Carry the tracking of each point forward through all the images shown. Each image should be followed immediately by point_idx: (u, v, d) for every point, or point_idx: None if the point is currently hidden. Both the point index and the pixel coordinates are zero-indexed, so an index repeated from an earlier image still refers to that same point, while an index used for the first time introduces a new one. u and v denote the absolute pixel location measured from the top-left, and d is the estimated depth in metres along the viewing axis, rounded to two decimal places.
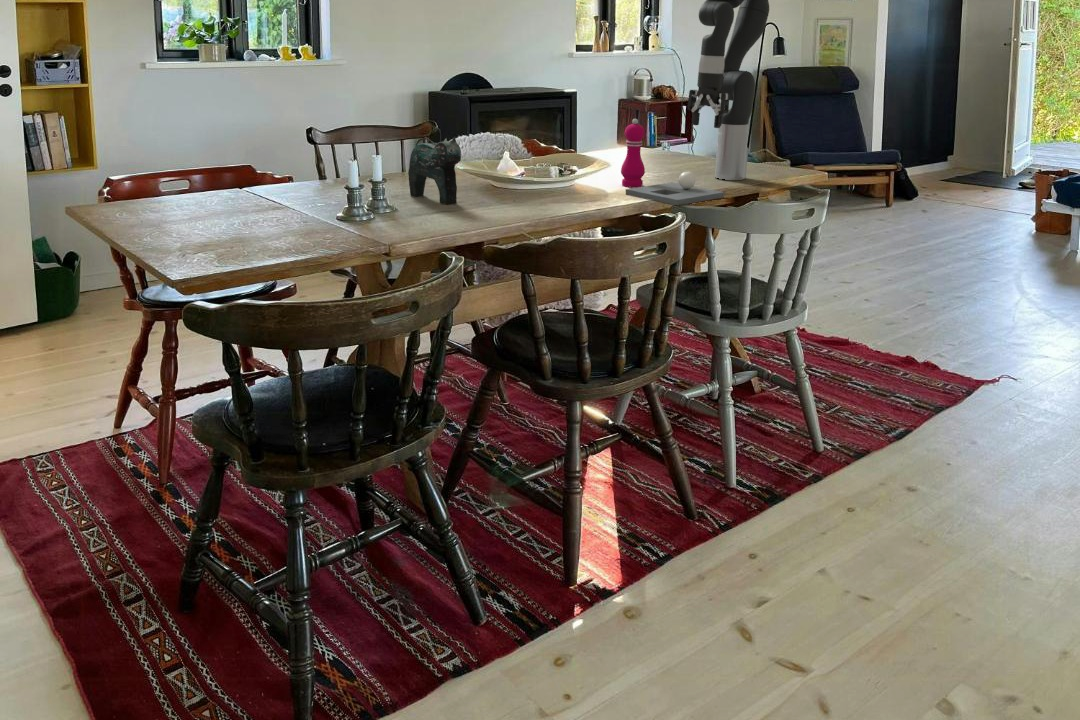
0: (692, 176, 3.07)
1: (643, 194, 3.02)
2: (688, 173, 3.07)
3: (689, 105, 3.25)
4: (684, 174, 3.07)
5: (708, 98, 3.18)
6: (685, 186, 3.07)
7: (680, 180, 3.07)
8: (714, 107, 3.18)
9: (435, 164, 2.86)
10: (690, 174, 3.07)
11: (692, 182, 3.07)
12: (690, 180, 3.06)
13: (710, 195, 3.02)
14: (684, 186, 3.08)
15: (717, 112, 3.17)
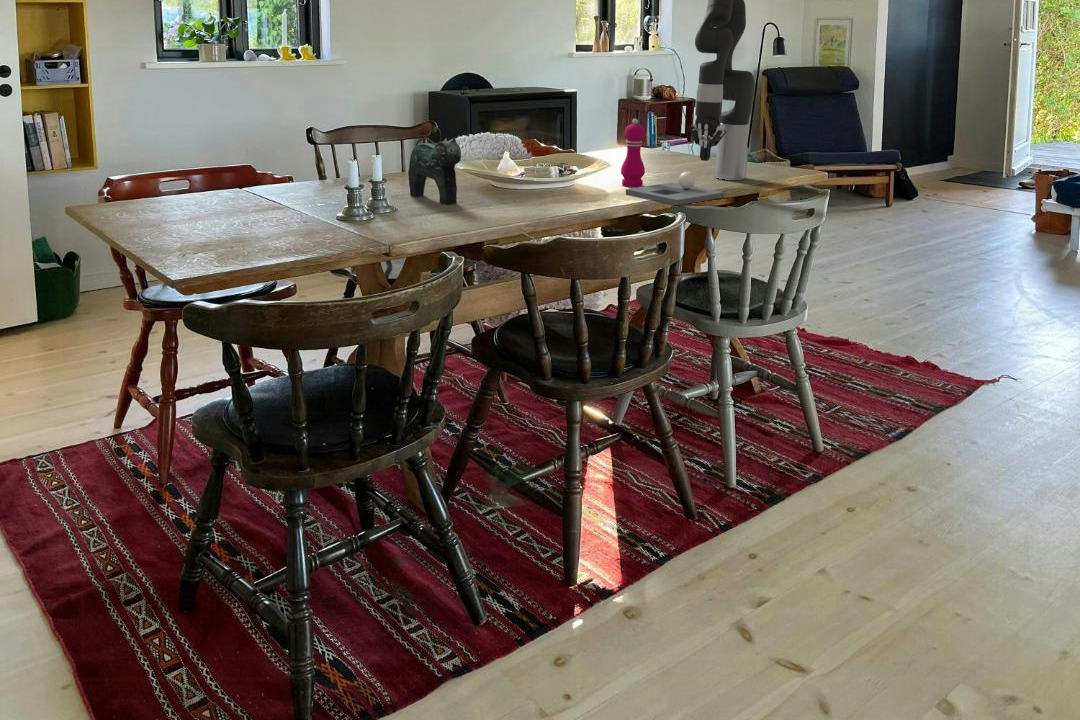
0: (692, 176, 3.07)
1: (643, 194, 3.02)
2: (688, 173, 3.07)
3: (695, 139, 3.11)
4: (684, 174, 3.07)
5: (705, 128, 3.07)
6: (685, 186, 3.07)
7: (680, 180, 3.07)
8: (706, 139, 3.08)
9: (435, 164, 2.86)
10: (690, 174, 3.07)
11: (692, 182, 3.07)
12: (690, 180, 3.06)
13: (710, 195, 3.02)
14: (684, 186, 3.08)
15: (705, 145, 3.09)
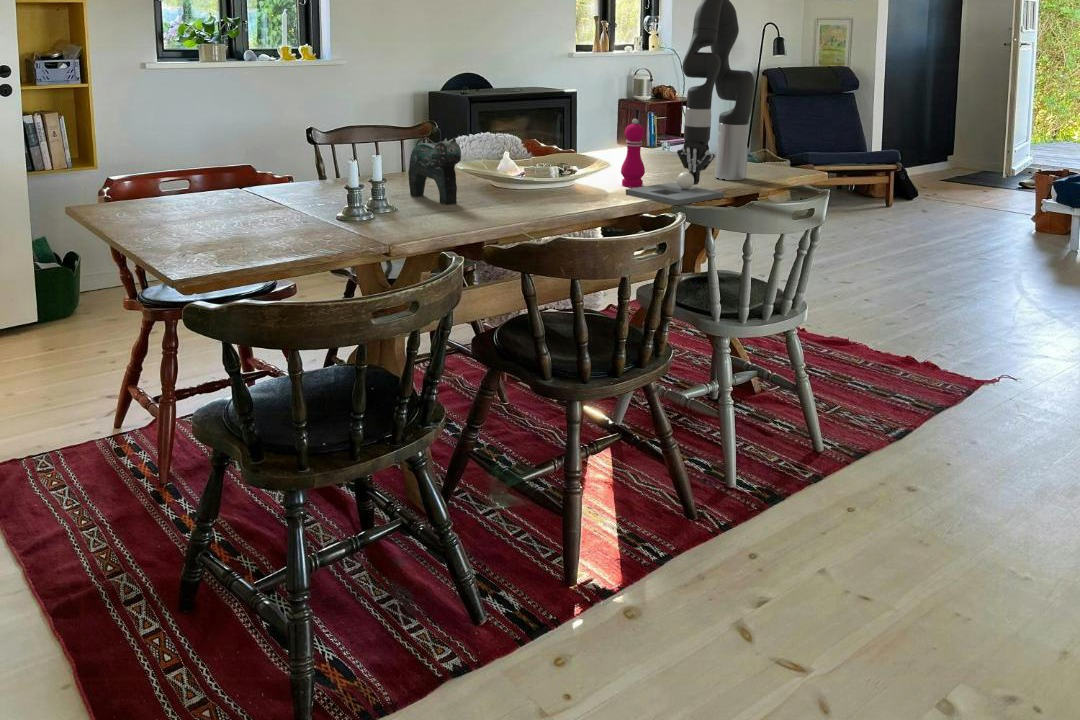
0: (690, 176, 3.06)
1: (643, 194, 3.02)
2: (685, 174, 3.06)
3: (684, 163, 3.10)
4: (682, 176, 3.07)
5: (694, 152, 3.06)
6: (685, 187, 3.07)
7: (679, 182, 3.07)
8: (694, 163, 3.07)
9: (435, 164, 2.86)
10: (688, 175, 3.06)
11: (691, 182, 3.07)
12: (688, 181, 3.06)
13: (710, 195, 3.02)
14: (683, 187, 3.08)
15: (694, 169, 3.08)
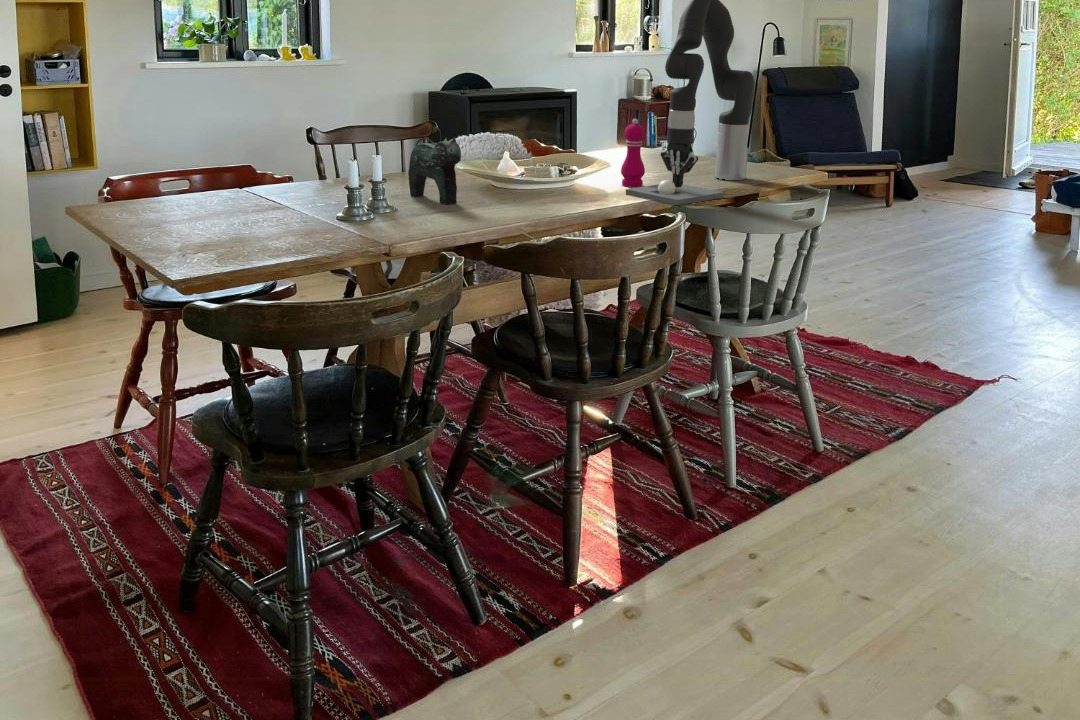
0: None
1: (643, 194, 3.02)
2: None
3: (668, 166, 3.06)
4: None
5: (677, 154, 3.02)
6: None
7: None
8: (678, 166, 3.03)
9: (435, 164, 2.86)
10: None
11: (673, 189, 3.02)
12: (674, 190, 3.03)
13: (710, 195, 3.02)
14: None
15: (678, 172, 3.04)
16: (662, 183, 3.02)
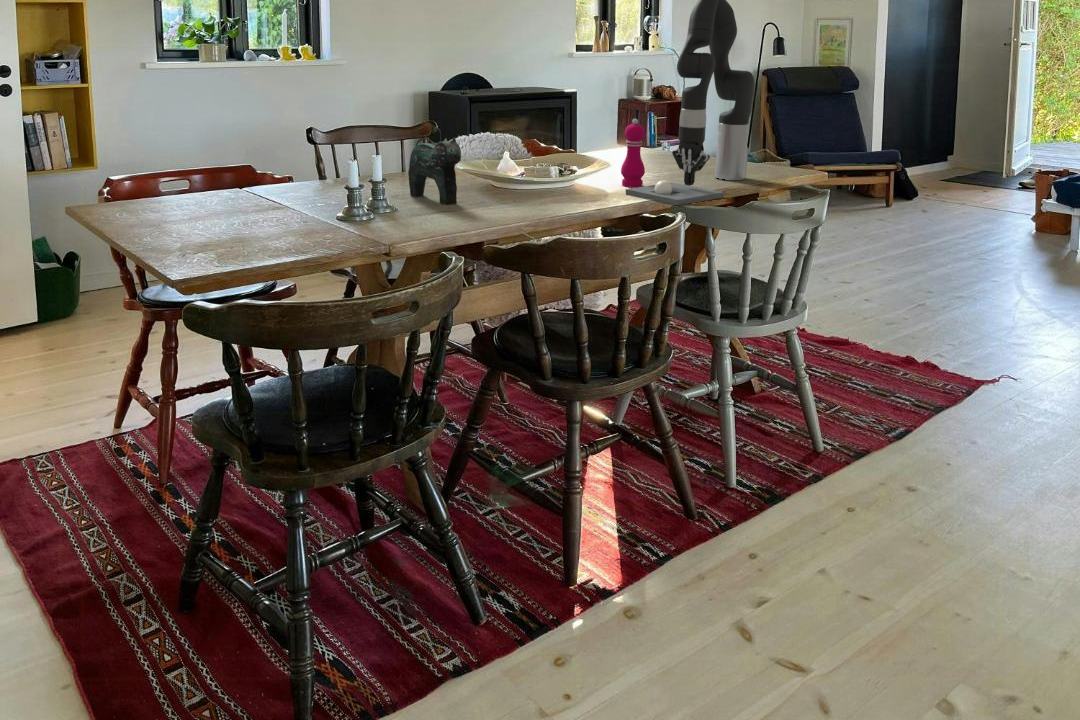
0: (669, 194, 3.03)
1: (643, 194, 3.02)
2: None
3: (679, 164, 3.09)
4: None
5: (689, 153, 3.05)
6: (668, 182, 3.02)
7: None
8: (689, 164, 3.06)
9: (435, 164, 2.86)
10: (669, 194, 3.03)
11: (670, 189, 3.01)
12: (671, 188, 3.02)
13: (710, 195, 3.02)
14: (667, 181, 3.02)
15: (689, 170, 3.07)
16: (657, 188, 3.02)
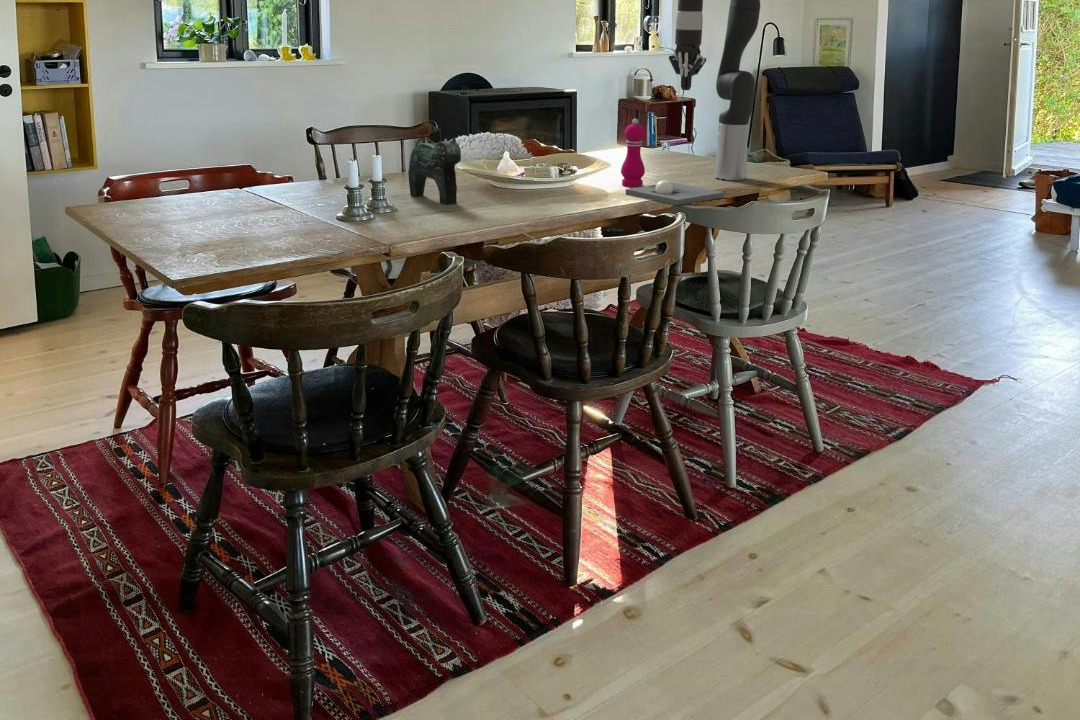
0: None
1: (643, 194, 3.02)
2: None
3: (676, 69, 3.09)
4: None
5: (686, 56, 3.05)
6: (669, 182, 3.02)
7: None
8: (686, 68, 3.06)
9: (435, 164, 2.86)
10: None
11: (670, 189, 3.02)
12: (672, 189, 3.02)
13: (710, 195, 3.02)
14: None
15: (686, 74, 3.07)
16: (658, 187, 3.02)
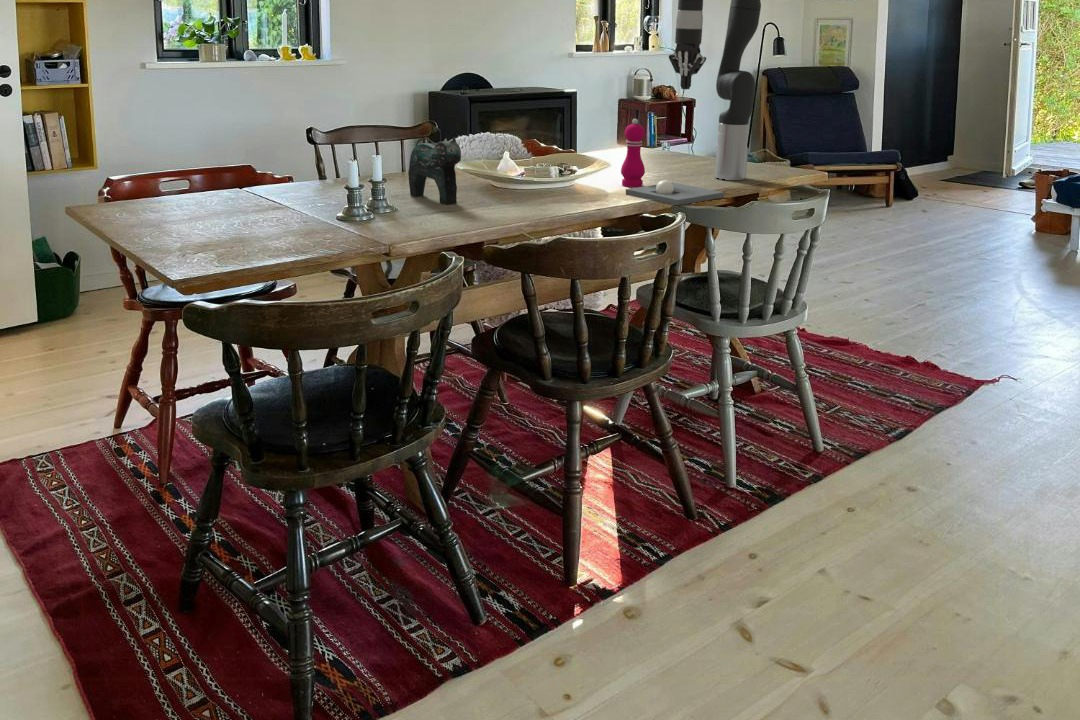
0: None
1: (643, 194, 3.02)
2: None
3: (676, 68, 3.09)
4: None
5: (685, 55, 3.05)
6: (670, 182, 3.03)
7: None
8: (686, 67, 3.06)
9: (435, 164, 2.86)
10: None
11: (671, 189, 3.02)
12: None
13: (710, 195, 3.02)
14: (670, 182, 3.03)
15: (686, 73, 3.07)
16: (659, 186, 3.02)
